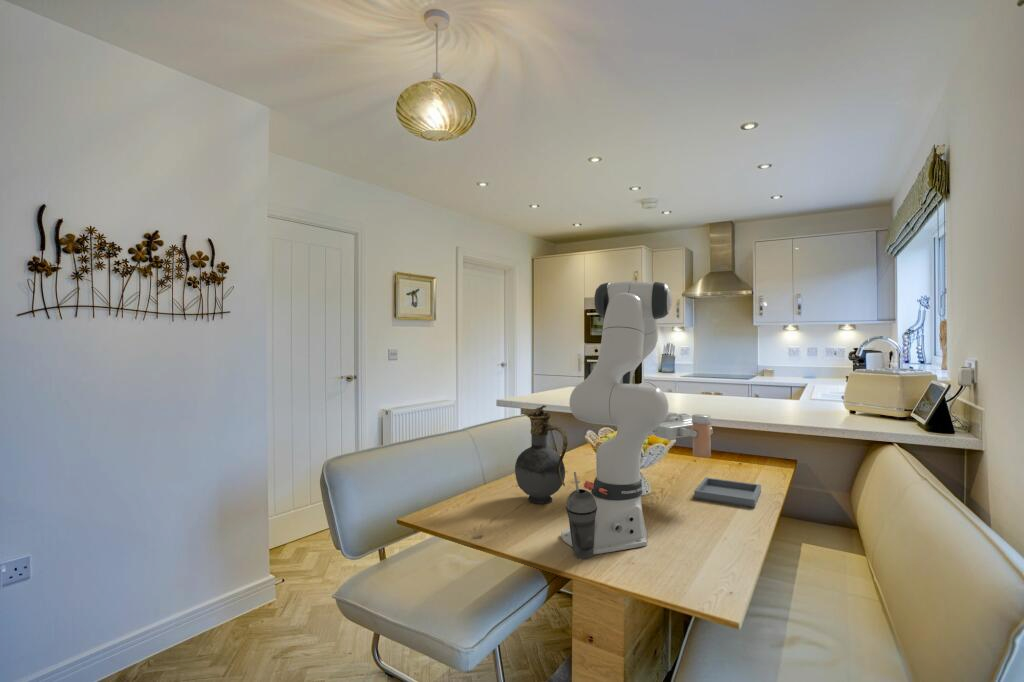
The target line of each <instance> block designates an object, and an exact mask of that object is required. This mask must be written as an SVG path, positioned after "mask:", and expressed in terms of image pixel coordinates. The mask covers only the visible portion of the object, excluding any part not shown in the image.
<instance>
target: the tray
mask: <svg viewBox="0 0 1024 682" xmlns="http://www.w3.org/2000/svg"><path fill="white" fill-rule="evenodd" d="M760 493H762V485H761V484H757V483H750V482H742V481H737V480H735V481H734V480H729V479H720V478H712V477H704V478H703V480H702V481H701V482H700V484H698V485H697V487H696V488H695V489H694V493H693V494H694V495H693V496H694V499H695V500H699V499H700V500H701V501H706V500H707V502H713V503H718V502H719V504H725V503H727V505H731V504H734V505H733V506H737V505H740V507H744V506H746V507H745V508H750V507H752V508H751V509H755V508H756V506H757V504H758V501H759V499H758V498H760V496H761V494H760ZM756 503H757V504H756Z"/></svg>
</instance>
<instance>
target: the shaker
mask: <svg viewBox="0 0 1024 682" xmlns="http://www.w3.org/2000/svg"><path fill="white" fill-rule="evenodd" d="M691 416H692V422H693V430H697V431H698V436H696V437H692V456H693V457H697V458H703V459H704V458H710V457H711V458H712V453H711V452H712V451H711V450H712V449H711V448H712V447H711V445H712V442H711V441H712V440H711V439H712V438H711V435H712V434H711V433H710V423H712V420H711V419H712V417H711V414H710V415H709V414H703V413H702V414H696V413H695V414H692V415H691Z"/></svg>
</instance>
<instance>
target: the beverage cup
mask: <svg viewBox="0 0 1024 682" xmlns="http://www.w3.org/2000/svg"><path fill="white" fill-rule="evenodd" d="M573 476H574V483H575V490H573V491H572V492H571V493H570V494H569V495H568V497H567V499H566V505H565V509H566V513H567V517H568V521H569V522H568V524H569V528H570V531H571V539H572V546H573V547H572V546H571V547H572V550H573V551H572V552H573V555H574V556H575V557H574V558H577V559H582V560H587V559H591V558H592V557H593V555H594V554H593V549H594V533H595V517H596V512H597V505H596V501H595V499H594V497H593V495H592V494H591V491H589V490H588V489H585V488H584V489H583V488H579V484H578V483H579V482H578V477H577V473H576V471H574V472H573Z"/></svg>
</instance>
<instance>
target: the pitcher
mask: <svg viewBox="0 0 1024 682" xmlns="http://www.w3.org/2000/svg"><path fill="white" fill-rule="evenodd" d="M547 406H548V405H547ZM547 406H546V405H542V406H540V407H536V408H534V409H533V411H529V412H524V416H526V417H527V418H529V421H530V434H531V436H530V437H531V438H530V439H531V441H530V442H531V446H530V447H528V448H526V449H524V450H523V451H522V452H521V453H519V455H518V456H517V458H516V460H515V465H514V474H515V475H514V476H515V480H516V482H517V485H518V487H519V489H520V490H521V491H523V493H525V494H526V495H527V500H528V501H529V502H530V503H532V504H534V505H535V504H536V505H546V504H550V503H552V502H553V497H552V496H553V495H554V494H555V493H557V492H558V491H559V490H560V489H561V487H562V486H563V487H564V488H565V485H566V483H565V478H566V468H565V467H566V466H565V464H564V461H563V459H564V457H565V455H566V451H567V448H568V445H569V444H568V436H567V433H566V430H565V429H564V428H563V427H562V426H560V425H558V424H552V425H550V424H549V419H550V418H552V416H551V415H552V412H545V410H544V409H545V408H547ZM549 431H550V432H551V431H556V432H559V434H560V435H561V439H562V443H563V444H562V452H561V455H560V454H559V453H558V451H556V450H555V449H553V448H552V447H549V446H548V434H549Z"/></svg>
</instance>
